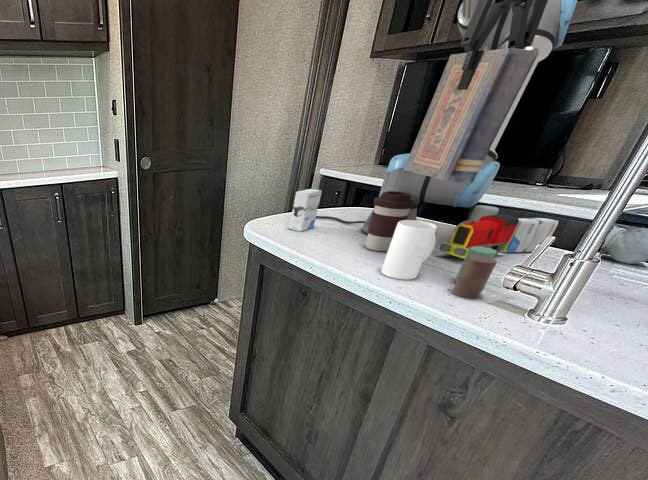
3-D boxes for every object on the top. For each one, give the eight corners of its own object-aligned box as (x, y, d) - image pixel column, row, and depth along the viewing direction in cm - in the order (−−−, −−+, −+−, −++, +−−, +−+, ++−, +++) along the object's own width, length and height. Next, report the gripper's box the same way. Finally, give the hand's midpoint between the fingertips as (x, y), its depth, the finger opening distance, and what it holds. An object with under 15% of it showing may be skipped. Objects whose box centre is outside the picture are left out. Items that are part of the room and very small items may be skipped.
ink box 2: (492, 248, 116) (526, 247, 117) (507, 253, 112) (543, 252, 113) (506, 217, 111) (542, 217, 113) (523, 221, 107) (560, 220, 109)
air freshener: (480, 238, 124) (496, 204, 118) (498, 246, 117) (516, 210, 111) (445, 238, 124) (459, 204, 118) (461, 245, 117) (477, 210, 112)
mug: (437, 275, 98) (459, 225, 91) (400, 281, 94) (420, 230, 88) (409, 265, 104) (427, 217, 97) (373, 270, 101) (390, 221, 94)
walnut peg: (451, 295, 88) (468, 259, 83) (453, 288, 91) (469, 253, 87) (478, 300, 85) (497, 264, 81) (479, 293, 89) (497, 258, 84)
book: (401, 171, 102) (451, 48, 88) (424, 173, 103) (478, 51, 89) (447, 183, 89) (516, 39, 74) (473, 186, 90) (547, 44, 75)
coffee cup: (367, 241, 122) (384, 188, 113) (402, 248, 116) (422, 193, 107) (354, 248, 116) (371, 193, 107) (390, 256, 110) (410, 198, 102)
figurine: (579, 258, 110) (651, 278, 100) (600, 225, 105) (680, 242, 94) (597, 250, 114) (669, 268, 103) (619, 218, 108) (698, 233, 97)
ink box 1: (301, 224, 138) (309, 188, 132) (314, 227, 135) (323, 190, 129) (287, 228, 134) (295, 191, 127) (301, 231, 131) (309, 193, 124)
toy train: (504, 254, 110) (524, 217, 105) (459, 263, 104) (477, 224, 99) (479, 248, 116) (497, 212, 110) (434, 256, 109) (450, 218, 104)
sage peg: (453, 284, 93) (469, 250, 89) (454, 277, 96) (470, 244, 92) (479, 288, 91) (497, 254, 86) (479, 282, 94) (496, 248, 90)
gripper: (506, -74, 69) (448, 89, 82) (607, -70, 70) (534, 89, 83) (473, -59, 75) (424, 90, 88) (566, -56, 77) (505, 90, 90)
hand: (478, 89), depth 86 cm, fingers closed on book, 7 cm apart
